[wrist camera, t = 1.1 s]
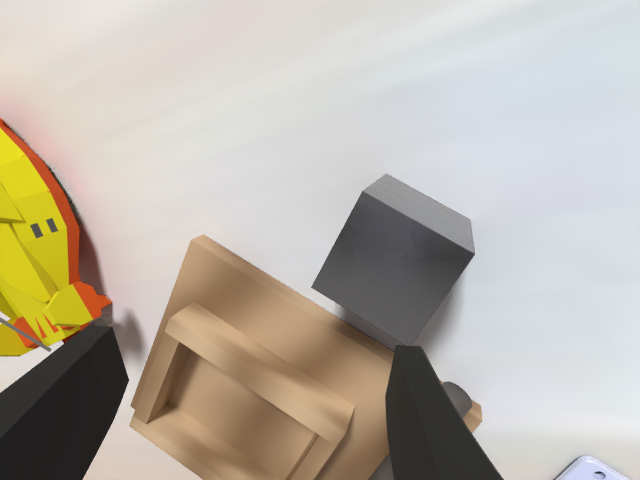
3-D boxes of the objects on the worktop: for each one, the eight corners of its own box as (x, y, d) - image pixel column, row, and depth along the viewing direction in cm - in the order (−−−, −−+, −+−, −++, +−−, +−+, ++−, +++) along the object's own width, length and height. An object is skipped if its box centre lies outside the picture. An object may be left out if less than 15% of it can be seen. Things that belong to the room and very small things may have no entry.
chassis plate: (491, 392, 21) (498, 439, 18) (351, 555, 27) (338, 612, 24) (208, 220, 23) (171, 235, 20) (139, 404, 30) (101, 437, 26)
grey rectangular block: (470, 219, 19) (475, 254, 14) (420, 293, 21) (409, 347, 16) (386, 173, 20) (362, 190, 15) (345, 248, 21) (311, 287, 16)
